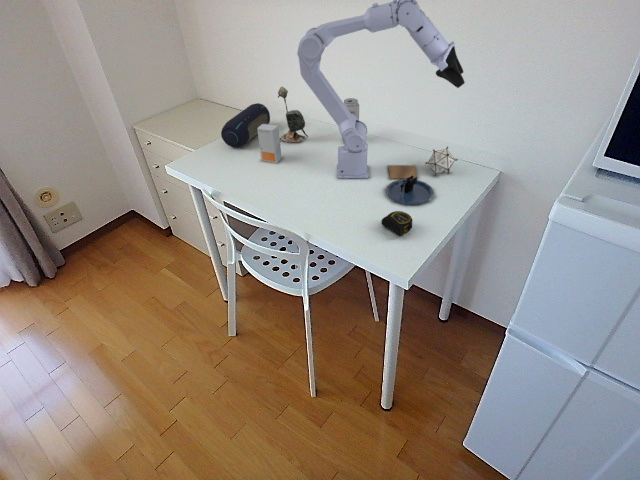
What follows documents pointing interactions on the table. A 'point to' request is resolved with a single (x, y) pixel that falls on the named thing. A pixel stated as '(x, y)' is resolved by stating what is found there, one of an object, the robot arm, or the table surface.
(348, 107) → the energy drink can
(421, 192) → the plate
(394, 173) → the cork coaster
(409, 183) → the wireless earbuds
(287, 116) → the plant with pod
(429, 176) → the table surface
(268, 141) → the cosmetic box
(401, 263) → the table surface
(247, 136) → the portable speaker
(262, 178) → the table surface
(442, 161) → the game die
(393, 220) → the tape measure
